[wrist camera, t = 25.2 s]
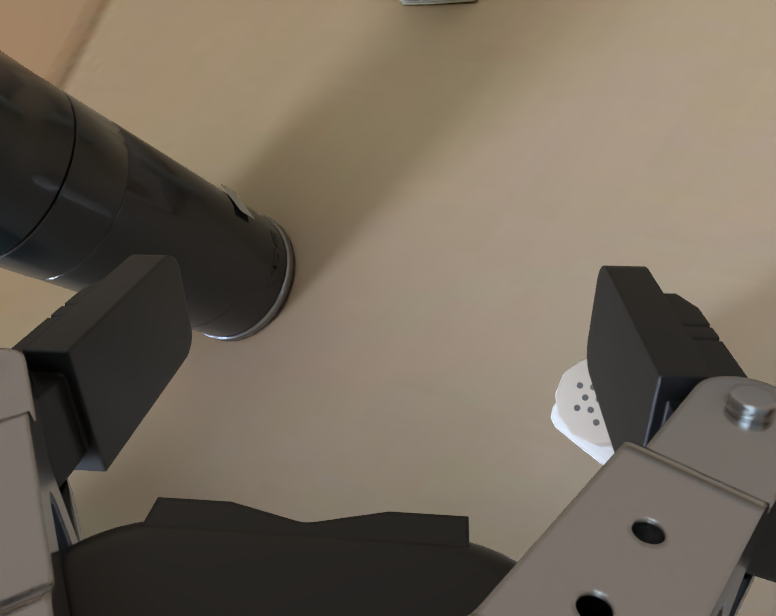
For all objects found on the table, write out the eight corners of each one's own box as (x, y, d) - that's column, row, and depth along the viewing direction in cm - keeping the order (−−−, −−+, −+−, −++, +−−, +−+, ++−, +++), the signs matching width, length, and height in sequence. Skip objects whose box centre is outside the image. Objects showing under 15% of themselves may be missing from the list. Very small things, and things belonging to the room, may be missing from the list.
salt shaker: (690, 418, 30) (683, 389, 21) (637, 484, 30) (611, 479, 22) (618, 369, 32) (587, 325, 24) (570, 430, 32) (522, 408, 24)
